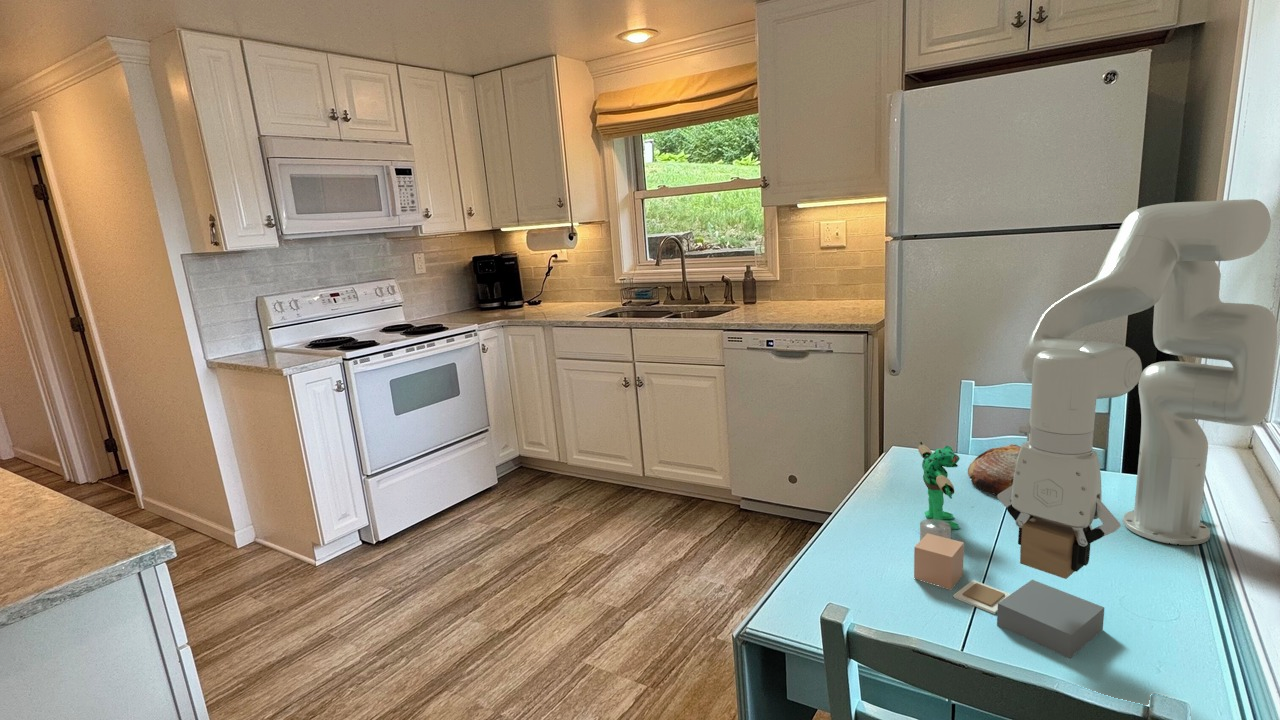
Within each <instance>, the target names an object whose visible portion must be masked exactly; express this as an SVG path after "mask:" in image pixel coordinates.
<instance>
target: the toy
mask: <svg viewBox="0 0 1280 720" xmlns="http://www.w3.org/2000/svg"><path fill="white" fill-rule="evenodd" d="M917 450H918V452H919V454H920V456H921V458H923V460H922V463H921V467H922V470H923V476H922V479H923V482H924V484H925V486H926V488H927V495H928V510H927V511H925V512H924V514H925V517H926V519H938V520H942V521H945V522H947V523H949V524H950V526H951V530H961V527H960V526H959V524H958V523H956V522H954V521H950V520H955V517H954V516H953V515H954V514H952V513H950V512H948V511H944V509H943V507H944V503H945V500H944V495H945V496H947V497H948V498H949V499H952V498H953V495H954V494H955V487H954V485H953V483H952V481H951V480H950V479H949V478H948V471H947V470H946V468H958V467H959V464H957V463H958V462H959V461H960V460H961V458H960V456H959V455H957V454H956V452H954V450H953V448H952V447H951V446H950V445H945V446H944V447H943V448H936V449H935V450H934V452H932V450H931V449H930V448H929V447H928V445H927V446H926V445H925V444H923V442H922V441H920V442H919V446H917ZM944 467H945V468H944Z"/></svg>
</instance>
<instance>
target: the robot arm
mask: <svg viewBox="0 0 1280 720" xmlns="http://www.w3.org/2000/svg"><path fill="white" fill-rule="evenodd" d="M1270 214H1271V213H1270V211H1269V210H1268V208H1267V206H1266V204H1264V203H1263V202H1262V201H1260V200H1259V199H1254V198H1251V199H1250V198H1248V199H1226V200H1225V199H1224V200H1208V201H1207V200H1206V201H1205V200H1204V201H1203V200H1202V201H1182V202H1181V201H1180V202H1179V201H1177V202H1168V203H1167V202H1166V203H1157V204H1152V205H1147V206H1142V207H1139V208H1137V209H1135V210H1133V211H1132V212H1130V213H1129V214H1128V215H1127V216H1126V217H1125V218H1124V220H1123V221H1122V223H1121V225H1120V227H1119V229H1118V231H1117V234H1115V235H1116V236H1115V237H1114V238H1113V240H1112V243H1111V245H1110V248H1109V249H1108V252H1107V253H1106V256H1105V257H1104V260H1103V261H1102V264H1101V265H1100V268H1099V270H1098V272H1097V274H1096V275H1095V278H1094V279H1093V280H1091V281H1090V282H1088V283H1086V284H1084V285H1081V286H1080V287H1078V288H1076V289H1074V290H1072V291H1071V292H1069V293H1068V294H1067V295H1065V296H1064V297H1061V299H1059V300H1058V301H1056V302H1054V303H1053V304H1052V305H1051V306H1050V307H1049V308H1047V309H1046V310H1045V311H1044V312H1043V313H1042V315H1041V316H1040V318H1039V319H1038V321H1037V322H1036V324H1035V327H1034V329H1033V330H1032V333H1031V334H1030V336H1029V337H1028V340H1027V343H1026V346H1025V347H1024V350H1023V353H1022V358H1021V372H1022V374H1023V376H1024V378H1025V379H1026V381H1028V382H1029V383H1030V384H1031V393H1030V394H1031V396H1030V412H1029V413H1030V414H1029V423H1026V424H1024V423H1020V425H1019V426H1018V433H1021V434H1024V435H1025V436H1026V441H1025V442H1022V443H1021V445H1020V447H1021V448H1020V451H1019V455H1018V459H1017V463H1016V468H1015V473H1014V479H1013V485H1012V486H1010V487H1009V488H1007V489H1005V490H1004V491H1002V492H1001V493H999V494H998V495H996V497H997V499H998V500H999V501H1000V502H1001V504H1002V505H1003V506H1004V507H1005V508H1006V510H1007V512H1008V514H1010V516H1011V517H1012V518H1013V520H1014V521H1015V522H1014V523H1015V525H1016V527H1018V535H1017V536H1018V538H1017V539H1018V540H1017V544H1018V545H1020V546H1021V538H1022V525H1023V524H1024V523H1026V522H1027V521H1028V520H1030V519H1031V518H1033V517H1034V516H1035V517H1038V518H1042V519H1045V520H1049V521H1052V522H1056V523H1059V524H1063V525H1067V526H1070V527H1072V528H1073V531H1074V534H1075V536H1076V543H1075V544H1074V545H1073V553H1072V566H1071V569H1072V570H1073V571H1075V572H1076V573H1077V572H1078V571H1080V570H1081V568H1083V567H1085V566H1086V567H1087V566H1088V564H1089V562H1090V554H1091V553H1090V552H1091V544H1092V543H1094V542H1096V541H1097V540H1100V539H1101V538H1104V537H1106V536H1108V535H1110V534H1113V533H1114V532H1116V531H1118V530H1120V528H1121V527H1122V525H1121V523H1120V522H1119V521H1118V519H1117V518H1116V516H1115V515H1114V514H1113V513H1112V512H1111V511H1110V510H1109V509H1108V508H1107V506H1106V505H1105V504H1104V503H1103V502H1102V499H1103V498H1102V497H1103V495H1102V477H1101V476H1102V475H1101V473H1102V472H1101V465H1100V461H1099V456H1098V452H1097V451H1095V450H1093V447H1094V443H1093V442H1094V436H1095V435H1094V434H1095V422H1096V421H1095V419H1096V408H1097V407H1096V406H1097V400H1099V399H1111V398H1117V397H1121V396H1124V395H1126V394H1128V393H1129V392H1131V391H1132V390H1133V389H1134V388H1135V386H1137V385H1138V386H1137V387H1138V395H1139V397H1138V398H1139V404H1140V414H1141V420H1140V421H1141V425H1140V426H1141V427H1140V443H1139V453H1138V461H1137V462H1138V464H1137V476H1136V489H1135V496H1134V497H1135V499H1134V510H1131V511H1128V512H1126V513H1125V514H1124V515H1123V518H1122V523H1123V525H1124V527H1126V529H1128V530H1129V531H1131V532H1132V533H1134V534H1136V535H1138V536H1140V537H1143V538H1146V539H1148V540H1151V541H1155V542H1159V543H1163V544H1169V543H1170V545H1177V544H1179V545H1178V546H1195V545H1200V544H1201V545H1202V544H1204V543H1206V542H1208V541H1209V540H1210V538H1211V530H1210V528H1209V527H1207V526H1206V525H1205V523H1203V522H1201V516H1202V509H1203V501H1204V500H1203V497H1204V488H1205V480H1206V471H1207V461H1208V454H1209V442H1208V438H1207V435H1206V433H1205V431H1204V429H1202V427H1201V426H1200V423H1198V421H1197V420H1201V421H1205V422H1212V423H1219V424H1225V425H1232V426H1240V427H1251V426H1255V425H1258V424H1260V423H1262V421H1264V420H1265V418H1266V417H1267V415H1268V412H1269V409H1270V406H1271V401H1272V393H1273V392H1272V391H1273V384H1274V373H1275V363H1276V357H1277V356H1276V355H1277V344H1278V324H1277V320H1276V317H1275V314H1274V313H1273V312H1272V311H1271V309H1269V308H1267V307H1265V306H1263V305H1259V304H1254V303H1239V302H1223V301H1221V299H1220V289H1221V288H1220V287H1221V277H1222V275H1221V274H1222V273H1221V270H1220V268H1219V266H1218V264H1217V263H1216V262H1228V261H1234V260H1238V259H1239V260H1240V259H1241V258H1245V257H1249V256H1251V255H1253V254H1255V253H1257V252H1258V251H1259V250H1260V249H1261V248H1262V247H1263V245H1264V244H1265V242H1266V241H1267V239H1268V236H1269V234H1270V231H1271V225H1272V222H1271V215H1270ZM1153 306H1154V307H1153ZM1152 307H1153V320H1152V321H1153V324H1152V338H1153V340H1152V341H1153V344H1154V346H1155V348H1157V350H1158V351H1160V352H1162V353H1164V354H1169V355H1173V356H1180V357H1189V358H1197V359H1207V360H1216V361H1217V360H1218V361H1226V362H1228V363H1230V365H1232V366H1231V367H1230V366H1222V365H1213V364H1207V363H1205V364H1204V363H1198V362H1186V361H1175V360H1166V361H1165V360H1164V361H1158V362H1155V363H1151V364H1150V365H1147V366H1146V367H1145V368H1144V369H1143V365H1142V360H1141V358H1140V355H1138V353H1137V352H1136V351H1135V350H1133V348H1131V347H1129V346H1125V345H1123V344H1119V343H1112V342H1102V341H1101V342H1100V341H1092V340H1083V339H1072V338H1071V339H1070V338H1069V337H1070V336H1071V335H1073V334H1074V333H1076V332H1078V331H1080V330H1081V329H1084V328H1086V327H1089V326H1092V325H1095V324H1099V323H1102V322H1107V321H1110V320H1115V319H1120V318H1122V317H1127V316H1130V315H1133V314H1136V313H1140V312H1143V311H1146V310H1148V309H1150V308H1152ZM1016 495H1017V496H1016ZM1097 519H1099V520H1100V521H1101V524H1102V525H1099V526H1096V527H1095V528H1093V526H1092V523H1093V521H1094V520H1097ZM1019 548H1020V552H1019V553H1020V554H1021V547H1019Z"/></svg>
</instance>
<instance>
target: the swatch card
mask: <svg viewBox="0 0 1280 720" xmlns="http://www.w3.org/2000/svg"><path fill="white" fill-rule="evenodd" d="M1011 594H1012V593H1009V592H1007V591H1003V590H1001V589H999V588H996V587H993V586H990V585H988V584H985V583H982V582H980V581H977V580H975V579H973V580H971V581H970V582H968V583H967V584H966V585H964V586H963V587H962V588H960V589H959V590H958V591H956V593H954V594H953V595H952V597H954V599H956V600H959V601H961V602H963V603H966V604H968V605H971V606H973V607H975V608H977V609H981V610H983V611H986V612H988V613H991V614H993V615H997V611H998V603H999V602H1001V601H1002V600H1003V599H1005V598H1006V597H1008V596H1009V595H1011Z"/></svg>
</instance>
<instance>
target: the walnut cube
mask: <svg viewBox="0 0 1280 720" xmlns="http://www.w3.org/2000/svg"><path fill="white" fill-rule="evenodd" d="M1075 543H1076V536H1075V534H1074V531H1073V528H1072V527H1070V526H1067V525H1063V524H1059V523H1056V522H1052V521H1049V520H1045V519H1042V518H1038V517H1035V516H1034V517H1033V518H1031V519H1030V520H1028V521H1027V522H1026V523H1024V524H1023V525H1022V538H1021V545H1020V548H1021V553H1020V554H1019V555H1020V557H1019V560H1020V561H1019V564H1020V565H1023V566H1026V567H1029V568H1032V569H1035V570H1038V571H1040V572H1045V573H1047V574H1050V575H1053V576H1056V577H1059V578H1062V579H1065V580H1067V579H1068V578H1070V576H1071V575H1073V574H1074V573H1075V572H1076V571H1073V570H1072V569H1071V566H1072V553H1073V545H1074V544H1075Z"/></svg>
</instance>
